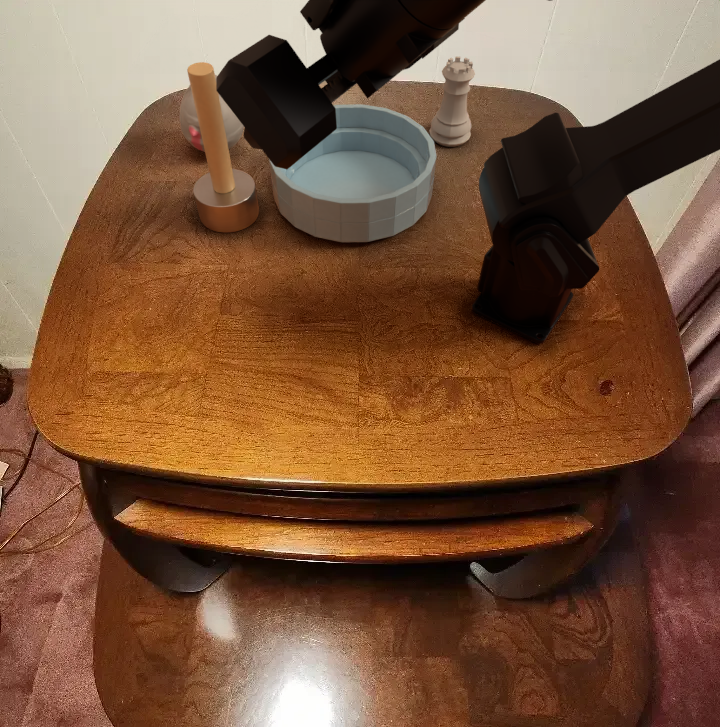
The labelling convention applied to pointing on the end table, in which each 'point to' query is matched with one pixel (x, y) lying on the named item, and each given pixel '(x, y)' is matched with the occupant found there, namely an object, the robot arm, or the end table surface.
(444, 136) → the rook chess piece
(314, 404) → the end table surface
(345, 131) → the bowl
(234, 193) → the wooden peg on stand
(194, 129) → the figurine
